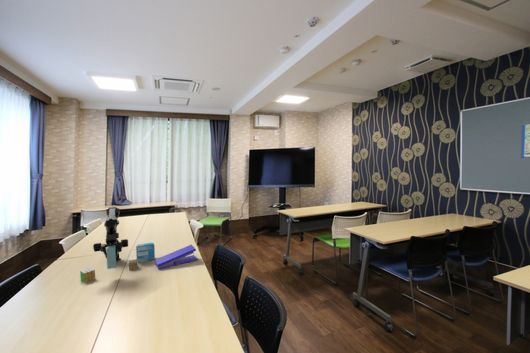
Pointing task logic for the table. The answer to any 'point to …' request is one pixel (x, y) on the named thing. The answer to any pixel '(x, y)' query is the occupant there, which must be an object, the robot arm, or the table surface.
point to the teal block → (111, 257)
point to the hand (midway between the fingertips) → (111, 257)
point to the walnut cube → (133, 264)
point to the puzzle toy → (87, 274)
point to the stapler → (176, 258)
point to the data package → (145, 252)
